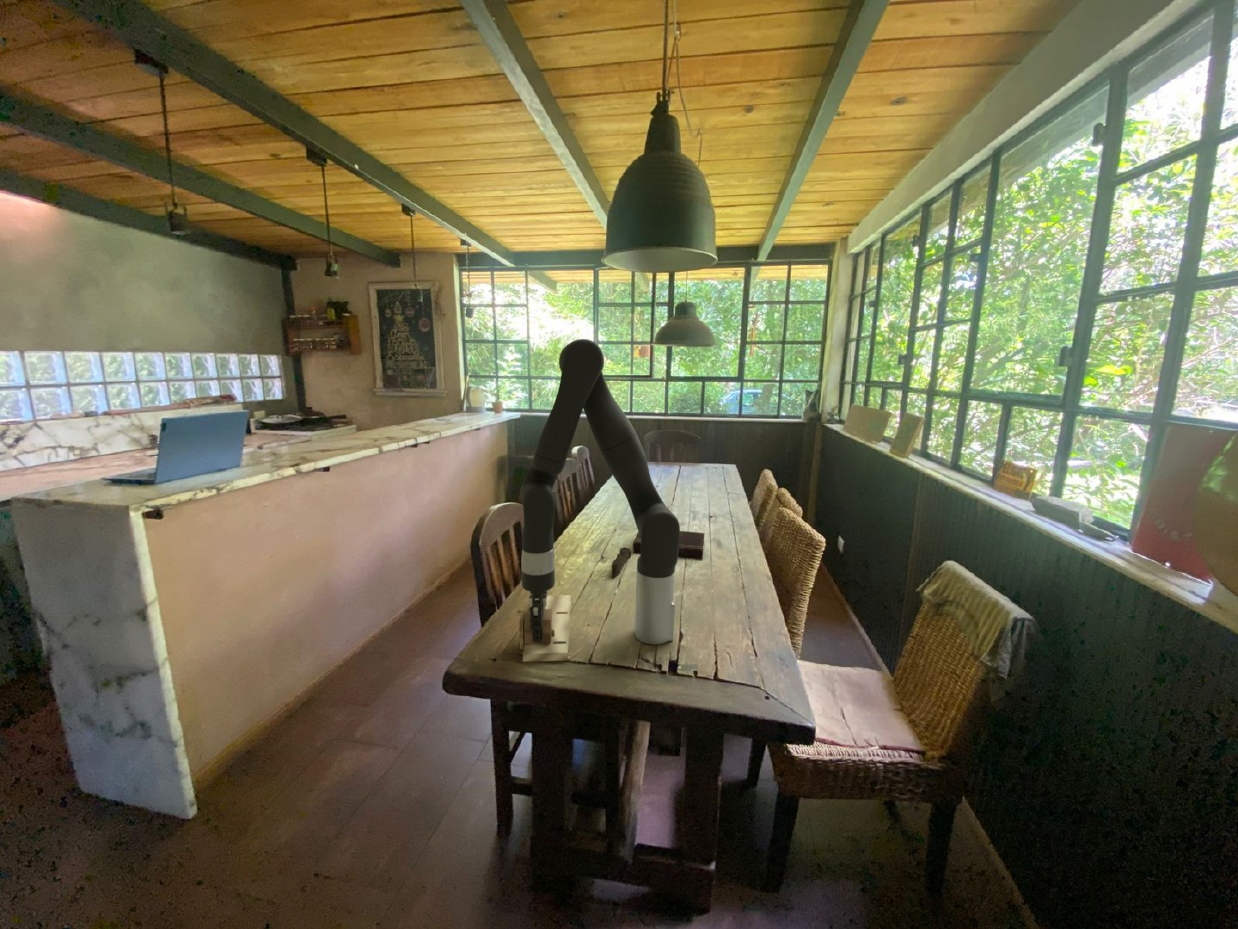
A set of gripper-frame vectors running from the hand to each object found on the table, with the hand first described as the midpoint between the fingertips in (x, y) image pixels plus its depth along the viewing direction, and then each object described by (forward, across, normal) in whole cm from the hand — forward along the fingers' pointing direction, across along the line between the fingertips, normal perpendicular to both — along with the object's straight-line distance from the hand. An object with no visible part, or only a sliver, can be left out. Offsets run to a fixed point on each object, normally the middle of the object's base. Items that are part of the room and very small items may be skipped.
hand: (538, 634), depth 113 cm
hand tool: (+4, +46, -23) cm, 52 cm away
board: (+3, +8, -2) cm, 9 cm away
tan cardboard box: (+2, 0, 0) cm, 2 cm away
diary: (+4, +64, -43) cm, 77 cm away
